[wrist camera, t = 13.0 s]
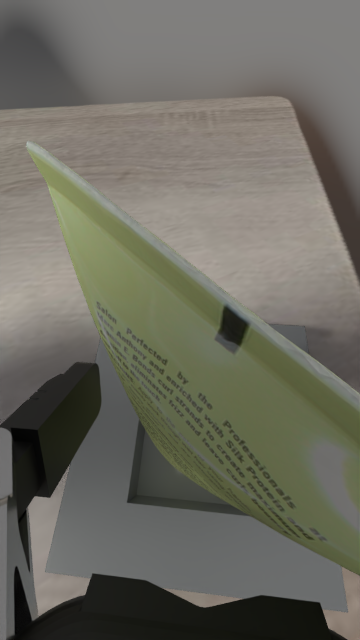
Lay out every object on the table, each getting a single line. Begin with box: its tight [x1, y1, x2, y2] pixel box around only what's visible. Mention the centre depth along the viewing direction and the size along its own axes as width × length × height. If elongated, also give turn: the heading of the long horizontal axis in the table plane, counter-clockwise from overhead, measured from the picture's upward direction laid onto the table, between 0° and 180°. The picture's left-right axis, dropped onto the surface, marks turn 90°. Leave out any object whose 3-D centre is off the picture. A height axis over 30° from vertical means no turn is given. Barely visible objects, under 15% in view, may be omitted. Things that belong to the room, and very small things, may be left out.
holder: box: [45, 324, 348, 612], centre depth 19 cm, size 16×16×4 cm
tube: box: [26, 141, 360, 575], centre depth 11 cm, size 6×5×20 cm
